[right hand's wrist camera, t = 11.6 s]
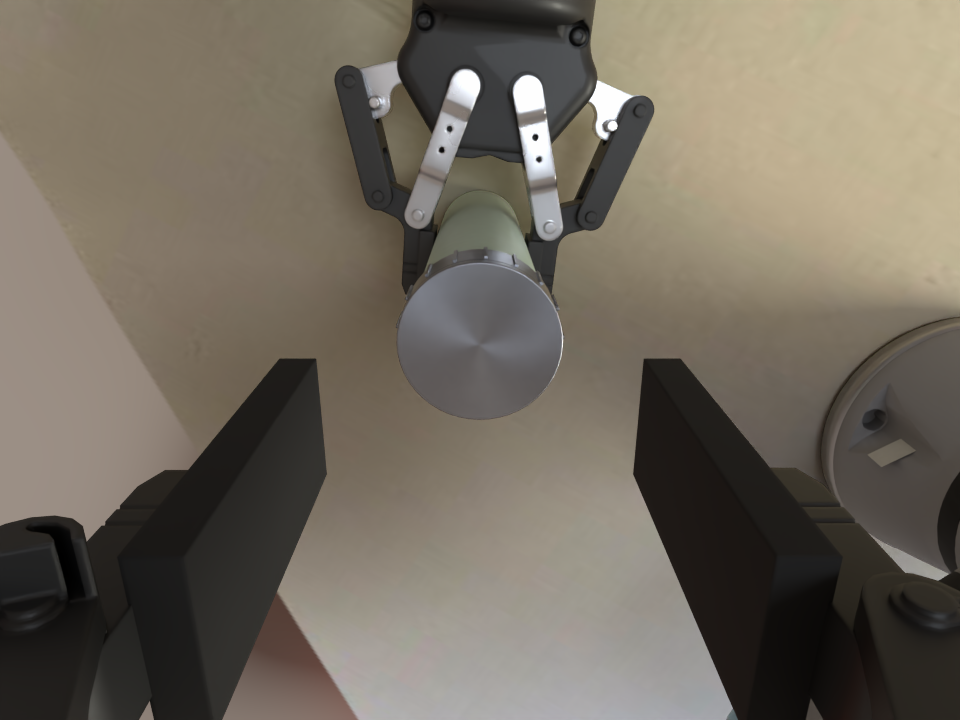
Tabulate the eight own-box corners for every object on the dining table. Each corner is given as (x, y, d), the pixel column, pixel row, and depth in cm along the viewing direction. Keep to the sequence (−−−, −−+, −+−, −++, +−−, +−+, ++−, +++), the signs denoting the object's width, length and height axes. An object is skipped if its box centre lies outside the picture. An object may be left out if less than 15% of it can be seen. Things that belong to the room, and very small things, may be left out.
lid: (373, 350, 21) (363, 372, 19) (450, 215, 19) (447, 225, 17) (505, 420, 22) (507, 449, 20) (587, 296, 20) (598, 314, 18)
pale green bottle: (428, 242, 37) (379, 364, 19) (466, 175, 36) (452, 237, 18) (493, 280, 38) (504, 431, 20) (532, 215, 37) (583, 314, 19)
